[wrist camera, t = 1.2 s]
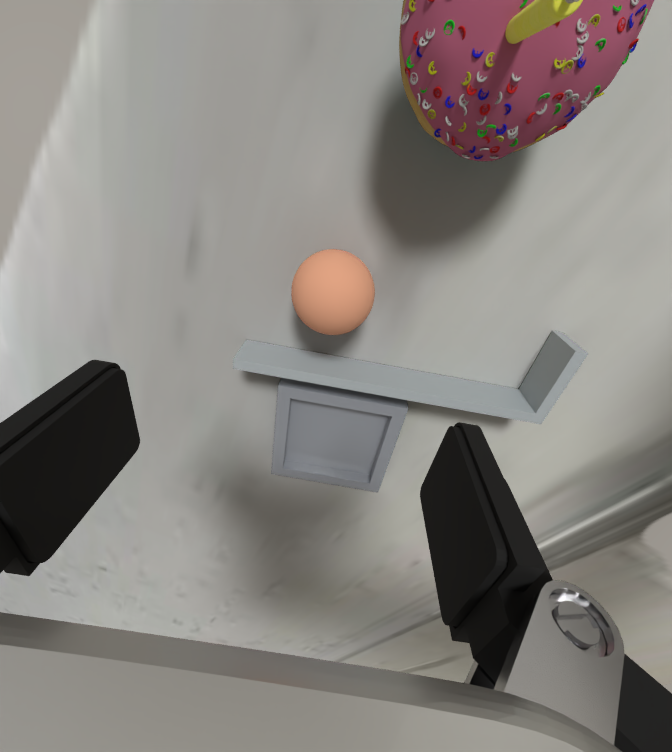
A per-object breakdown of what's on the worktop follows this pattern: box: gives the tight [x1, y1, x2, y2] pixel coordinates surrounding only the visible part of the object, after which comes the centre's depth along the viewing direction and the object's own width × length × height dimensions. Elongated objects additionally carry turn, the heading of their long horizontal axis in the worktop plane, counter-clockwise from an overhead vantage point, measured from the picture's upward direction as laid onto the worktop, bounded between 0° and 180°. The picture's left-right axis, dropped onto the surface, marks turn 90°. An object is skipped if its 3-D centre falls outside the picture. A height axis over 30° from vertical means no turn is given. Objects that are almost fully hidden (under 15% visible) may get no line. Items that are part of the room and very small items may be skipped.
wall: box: [233, 331, 588, 424], centre depth 23 cm, size 22×6×3 cm, turn 81°
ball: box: [292, 249, 375, 335], centre depth 20 cm, size 5×5×5 cm
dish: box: [271, 378, 408, 492], centre depth 28 cm, size 10×10×2 cm
